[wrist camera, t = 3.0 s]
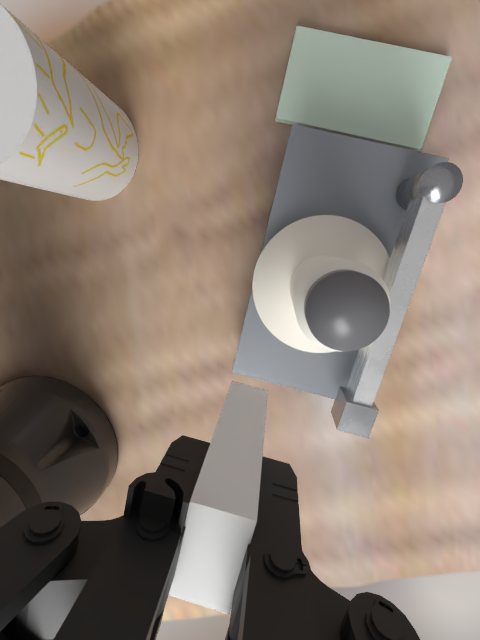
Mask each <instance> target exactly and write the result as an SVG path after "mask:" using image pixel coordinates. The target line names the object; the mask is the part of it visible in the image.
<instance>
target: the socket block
mask: <svg viewBox="0 0 480 640" xmlns="http://www.w3.org/2000/svg"><path fill="white" fill-rule="evenodd" d="M448 160H449V158H445V157H441V156H436V155H431V154H427V153H422V152H418V151H413V150H409V149H404V148H399V147H395V146H390V145H386V144H381V143H377V142H372V141H368V140H363V139H358V138H354V137H349V136H345V135H340V134H336V133H331V132H326V131H322V130H317V129H313V128H308V127H304V126H299V125H295V124H292V127H291V131H290V135H289V139H288V143H287V148H286V152H285V156H284V160H283V164H282V168H281V172H280V176H279V180H278V185H277V189H276V193H275V197H274V201H273V205H272V209H271V213H270V218H269V222H268V226H267V230H266V234H265V238H264V242H263V246H262V250H261V253H262V251H263V249H264V248H265V246H266V245H267V244H268V242H269V241H270V240H271V239H272V238H273V237H274V236H275V235H276V234H277V233H278V232H279V231H281V230H282V229H284V228H285V227H286V226H288V225H290V224H292V223H294V222H296V221H298V220H301V219H303V218H307V217H311V216H318V215H335V216H341V217H345V218H348V219H351V220H353V221H356V222H358V223H360V224H361V225H363V226H364V227H366V228H368V229H369V230H370V231H371V232H372V233H373V234H374V235H375V236H376V237H377V238H378V239H379V240H380V241H381V243H382V244H383V246H384V248H385V249H386V251H387V253H388V255H389V258H390V257H391V254H392V251H393V248H394V245H395V242H396V239H397V236H398V233H399V230H400V227H401V224H402V221H403V218H404V215H405V212H406V210H405V209H403V208H401V207H400V206H399V205H398V203H397V201H396V191H397V188H398V186H399V185H400V184H401V183H402V182H403V181H404V180H406V179H408V178H410V177H412V176H414V175H416V174H418V173H420V172H422V171H424V170H426V169H428V168H429V167H431V166H433V165H435V164H438V163H441V162H448ZM358 352H359V349H358V350H354V351H335V352H329V353H311V352H306V351H301V350H298V349H295V348H293V347H291V346H289V345H287V344H285V343H283V342H282V341H280V340H279V339H278V338H276V337H275V336H274V335H273V334H272V333H271V332H270V331H269V330H268V329H267V328H266V326H265V325H264V323H263V322H262V320H261V318H260V316H259V314H258V312H257V309H256V307H255V303H254V299H253V289H252V292H251V296H250V300H249V304H248V308H247V312H246V316H245V321H244V325H243V329H242V333H241V337H240V341H239V345H238V349H237V353H236V358H235V362H234V366H233V370H232V372H233V373H237V374H240V375H244V376H248V377H252V378H256V379H259V380H263V381H267V382H271V383H275V384H278V385H282V386H286V387H290V388H294V389H298V390H301V391H305V392H309V393H313V394H317V395H320V396H324V397H328V398H332V399H336V395H337V392H338V389H339V386H342V387H347V384H348V381H349V378H350V375H351V372H352V369H353V366H354V363H355V360H356V358H357V355H358Z"/></svg>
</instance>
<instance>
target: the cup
mask: <svg viewBox="0 0 480 640" xmlns="http://www.w3.org/2000/svg"><path fill="white" fill-rule="evenodd" d="M138 154H139V150H138V141H137V136H136V133H135V130H134V127H133V125H132V123H131V121H130V120H129V118H128V117H127V115H126V114H125V113H124V112H123V110H122V109H121V108H120V107H118V106H117V105H116V104H115V103H114V102H113V101H112V100H110V99H109V98H108V97H107V96H106V95H105V94H104V93H102V92H101V91H100V90H99V89H98V88H97V87H95V86H94V85H93V84H92V83H91V82H90V81H89V80H87V79H86V78H85V77H84V76H83V75H82V74H80V73H79V72H78V71H77V70H76V69H75V68H74V67H72V66H71V65H70V64H69V63H68V62H67V61H65V60H64V59H63V58H62V57H61V56H60V55H59V54H57V53H56V52H55V51H54V50H53V49H52V48H51V47H49V46H48V45H47V44H46V43H45V42H44V41H42V40H41V39H40V38H39V37H38V36H37V35H36V34H34V33H33V32H32V31H31V30H30V29H29V28H27V27H26V26H25V25H24V24H23V23H22V22H21V21H19V20H18V19H17V18H16V17H15V16H13V15H12V14H11V13H10V12H9V11H8V10H7V9H6V8H4V7H3V6H2V5H1V4H0V180H4V181H8V182H13V183H17V184H21V185H26V186H30V187H34V188H38V189H43V190H47V191H51V192H55V193H60V194H64V195H68V196H73V197H77V198H81V199H85V200H91V201H101V200H106V199H109V198H112V197H114V196H115V195H117V194H119V193H120V192H121V191H122V190H123V189H124V188H125V187H126V186H127V185H128V184H129V182H130V181H131V179H132V177H133V175H134V173H135V170H136V167H137V163H138Z"/></svg>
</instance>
